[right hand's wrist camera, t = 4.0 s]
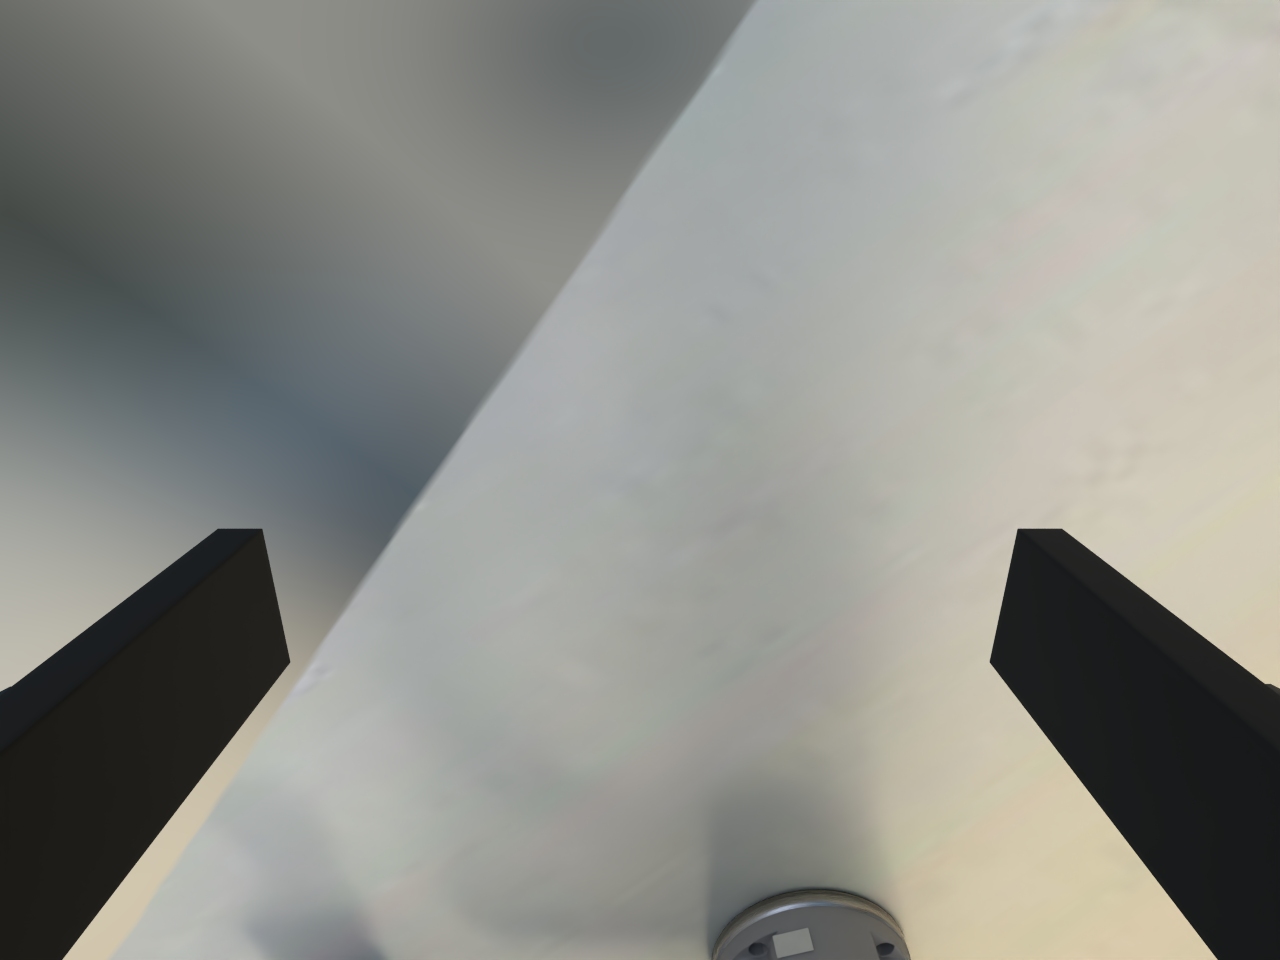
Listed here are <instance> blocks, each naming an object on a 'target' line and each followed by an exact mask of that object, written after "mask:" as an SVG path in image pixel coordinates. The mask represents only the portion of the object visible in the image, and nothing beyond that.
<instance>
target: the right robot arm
mask: <svg viewBox="0 0 1280 960" xmlns="http://www.w3.org/2000/svg"><path fill="white" fill-rule="evenodd" d="M289 663H290V658H289V653H288V649H287V644H286V639H285V635H284V630H283V625H282V620H281V616H280V611H279V606H278V601H277V597H276V592H275V587H274V582H273V578H272V573H271V568H270V564H269V559H268V554H267V549H266V544H265V540H264V535H263V530H262V529H217V530H216V531H215V532H213V533H212V534H211V535H209V536H208V537H207V538H205V539H204V540H203V541H201V542H200V543H199V544H198V545H196V546H195V547H194V548H192V549H191V550H190V551H188V552H187V553H186V554H184V555H183V556H182V557H181V558H179V559H178V560H177V561H175V562H174V563H173V564H171V565H170V566H169V567H168V568H166V569H165V570H164V571H162V572H161V573H160V574H158V575H157V576H156V577H154V578H153V579H152V580H150V581H149V582H148V583H147V584H145V585H144V586H143V587H141V588H140V589H139V590H137V591H136V592H135V593H133V594H132V595H131V596H130V597H128V598H127V599H126V600H124V601H123V602H122V603H120V604H119V605H118V606H117V607H115V608H114V609H113V610H111V611H110V612H109V613H107V614H106V615H105V616H103V617H102V618H101V619H99V620H98V621H97V622H96V623H94V624H93V625H92V626H90V627H89V628H88V629H86V630H85V631H84V632H83V633H81V634H80V635H79V636H77V637H76V638H75V639H73V640H72V641H71V642H69V643H68V644H67V645H65V646H64V647H63V648H62V649H60V650H59V651H58V652H56V653H55V654H54V655H52V656H51V657H50V658H48V659H47V660H46V661H45V662H43V663H42V664H41V665H39V666H38V667H37V668H35V669H34V670H33V671H31V672H30V673H29V674H28V675H26V676H25V677H24V678H22V679H21V680H20V681H18V682H17V683H16V684H14V685H13V686H12V687H9V688H7V689H5V690H3V691H1V692H0V960H62V959H63V958H64V957H65V955H66V954H67V953H68V951H69V950H70V949H71V948H72V946H73V945H74V944H75V942H76V941H77V940H78V938H79V937H80V936H81V935H82V933H83V932H84V931H85V929H86V928H87V927H88V925H89V924H90V923H91V921H92V920H93V919H94V918H95V916H96V915H97V914H98V912H99V911H100V910H101V908H102V907H103V906H104V905H105V903H106V902H107V901H108V899H109V898H110V897H111V895H112V894H113V893H114V892H115V890H116V889H117V888H118V886H119V885H120V884H121V882H122V881H123V880H124V878H125V877H126V876H127V875H128V873H129V872H130V871H131V869H132V868H133V867H134V865H135V864H136V863H137V862H138V860H139V859H140V858H141V856H142V855H143V854H144V852H145V851H146V850H147V848H148V847H149V846H150V844H151V843H152V842H153V841H154V839H155V838H156V837H157V835H158V834H159V833H160V831H161V830H162V829H163V828H164V826H165V825H166V824H167V822H168V821H169V820H170V818H171V817H172V816H173V815H174V813H175V812H176V811H177V809H178V808H179V807H180V805H181V804H182V803H183V802H184V800H185V799H186V798H187V796H188V795H189V794H190V792H191V791H192V790H193V788H194V787H195V786H196V784H197V783H198V782H199V781H200V779H201V778H202V777H203V775H204V774H205V773H206V772H207V770H208V769H209V768H210V766H211V765H212V764H213V762H214V761H215V760H216V758H217V757H218V756H219V755H220V753H221V752H222V751H223V749H224V748H225V747H226V745H227V744H228V743H229V742H230V740H231V739H232V738H233V736H234V735H235V734H236V732H237V731H238V730H239V728H240V727H241V726H242V725H243V723H244V722H245V721H246V719H247V718H248V717H249V715H250V714H251V713H252V711H253V710H254V709H255V708H256V706H257V705H258V704H259V702H260V701H261V700H262V698H263V697H264V696H265V694H266V693H267V692H268V691H269V689H270V688H271V687H272V685H273V684H274V683H275V681H276V680H277V679H278V678H279V676H280V675H281V674H282V672H283V671H284V670H285V668H286V667H287V666H288V665H289ZM990 663H991V665H992V666H993V667H994V668H995V670H996V671H997V672H998V674H999V675H1000V676H1001V678H1002V679H1003V680H1004V682H1005V683H1006V684H1007V685H1008V687H1009V688H1010V689H1011V691H1012V692H1013V693H1014V695H1015V696H1016V697H1017V698H1018V700H1019V701H1020V702H1021V704H1022V705H1023V706H1024V708H1025V709H1026V710H1027V712H1028V713H1029V714H1030V715H1031V717H1032V718H1033V719H1034V721H1035V722H1036V723H1037V725H1038V726H1039V727H1040V728H1041V730H1042V731H1043V732H1044V734H1045V735H1046V736H1047V738H1048V739H1049V740H1050V742H1051V743H1052V744H1053V745H1054V747H1055V748H1056V749H1057V751H1058V752H1059V753H1060V755H1061V756H1062V757H1063V758H1064V760H1065V761H1066V762H1067V764H1068V765H1069V766H1070V768H1071V769H1072V770H1073V772H1074V773H1075V774H1076V775H1077V777H1078V778H1079V779H1080V781H1081V782H1082V783H1083V785H1084V786H1085V787H1086V788H1087V790H1088V791H1089V792H1090V794H1091V795H1092V796H1093V798H1094V799H1095V800H1096V802H1097V803H1098V804H1099V805H1100V807H1101V808H1102V809H1103V811H1104V812H1105V813H1106V815H1107V816H1108V817H1109V818H1110V820H1111V821H1112V822H1113V824H1114V825H1115V826H1116V828H1117V829H1118V830H1119V832H1120V833H1121V834H1122V835H1123V837H1124V838H1125V839H1126V841H1127V842H1128V843H1129V845H1130V846H1131V847H1132V848H1133V850H1134V851H1135V852H1136V854H1137V855H1138V856H1139V858H1140V859H1141V860H1142V862H1143V863H1144V864H1145V865H1146V867H1147V868H1148V869H1149V871H1150V872H1151V873H1152V875H1153V876H1154V877H1155V878H1156V880H1157V881H1158V882H1159V884H1160V885H1161V886H1162V888H1163V889H1164V890H1165V892H1166V893H1167V894H1168V895H1169V897H1170V898H1171V899H1172V901H1173V902H1174V903H1175V905H1176V906H1177V907H1178V908H1179V910H1180V911H1181V912H1182V914H1183V915H1184V916H1185V918H1186V919H1187V920H1188V922H1189V923H1190V924H1191V925H1192V927H1193V928H1194V929H1195V931H1196V932H1197V933H1198V935H1199V936H1200V937H1201V938H1202V940H1203V941H1204V942H1205V944H1206V945H1207V946H1208V948H1209V949H1210V950H1211V952H1212V953H1213V954H1214V955H1215V957H1216V958H1217V959H1218V960H1280V689H1279V688H1277V687H1275V686H1274V685H1272V684H1264V683H1263V682H1262V681H1260V680H1259V679H1258V678H1256V677H1255V676H1254V675H1252V674H1251V673H1250V672H1249V671H1247V670H1246V669H1245V668H1243V667H1242V666H1241V665H1239V664H1238V663H1237V662H1235V661H1234V660H1233V659H1232V658H1230V657H1229V656H1228V655H1226V654H1225V653H1224V652H1222V651H1221V650H1220V649H1218V648H1217V647H1216V646H1215V645H1213V644H1212V643H1211V642H1209V641H1208V640H1207V639H1205V638H1204V637H1203V636H1201V635H1200V634H1199V633H1198V632H1196V631H1195V630H1194V629H1192V628H1191V627H1190V626H1188V625H1187V624H1186V623H1184V622H1183V621H1182V620H1181V619H1179V618H1178V617H1177V616H1175V615H1174V614H1173V613H1171V612H1170V611H1169V610H1167V609H1166V608H1165V607H1164V606H1162V605H1161V604H1160V603H1158V602H1157V601H1156V600H1154V599H1153V598H1152V597H1150V596H1149V595H1148V594H1147V593H1145V592H1144V591H1143V590H1141V589H1140V588H1139V587H1137V586H1136V585H1135V584H1133V583H1132V582H1131V581H1130V580H1128V579H1127V578H1126V577H1124V576H1123V575H1122V574H1120V573H1119V572H1118V571H1116V570H1115V569H1114V568H1113V567H1111V566H1110V565H1109V564H1107V563H1106V562H1105V561H1103V560H1102V559H1101V558H1099V557H1098V556H1097V555H1096V554H1094V553H1093V552H1092V551H1090V550H1089V549H1088V548H1086V547H1085V546H1084V545H1082V544H1081V543H1080V542H1079V541H1077V540H1076V539H1075V538H1073V537H1072V536H1071V535H1069V534H1068V533H1067V532H1065V531H1064V530H1063V529H1018V530H1017V535H1016V540H1015V544H1014V549H1013V554H1012V559H1011V563H1010V568H1009V573H1008V578H1007V582H1006V587H1005V592H1004V597H1003V601H1002V606H1001V611H1000V616H999V620H998V625H997V630H996V634H995V639H994V644H993V649H992V653H991V658H990ZM712 960H911V959H910V955H909V951H908V949H907V946H906V943H905V940H904V937H903V935H902V932H901V930H900V928H899V927H898V925H897V924H896V922H895V921H894V920H893V918H892V917H891V916H890V915H889V914H888V913H886V912H885V911H884V910H883V909H881V908H880V907H879V906H877V905H875V904H874V903H872V902H870V901H868V900H866V899H863V898H861V897H858V896H855V895H851V894H848V893H843V892H838V891H829V890H805V891H796V892H790V893H785V894H781V895H778V896H775V897H772V898H769V899H766V900H764V901H761V902H759V903H757V904H755V905H753V906H751V907H750V908H748V909H746V910H745V911H743V912H742V913H741V914H739V915H738V916H737V917H736V918H734V919H733V920H732V921H731V922H730V923H729V924H728V925H727V926H726V928H725V929H724V930H723V932H722V933H721V935H720V936H719V938H718V940H717V942H716V945H715V947H714V951H713V956H712Z"/></svg>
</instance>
